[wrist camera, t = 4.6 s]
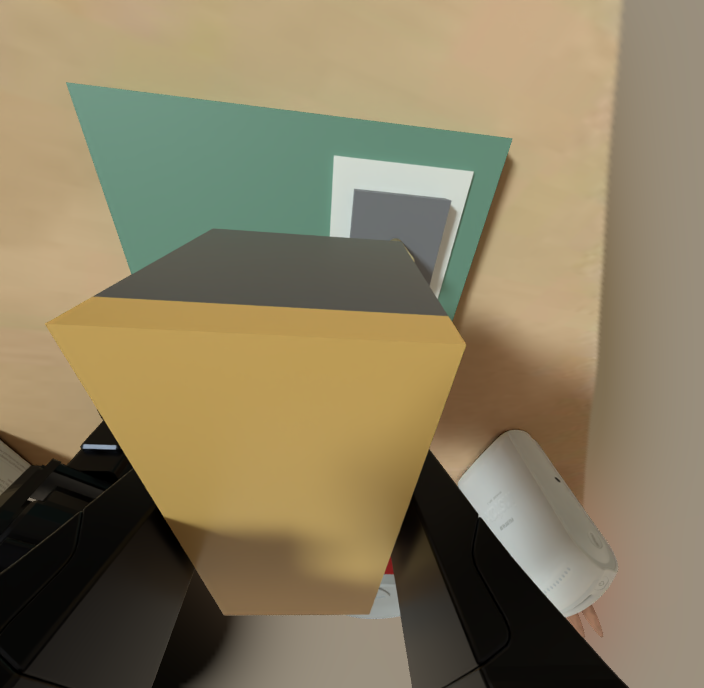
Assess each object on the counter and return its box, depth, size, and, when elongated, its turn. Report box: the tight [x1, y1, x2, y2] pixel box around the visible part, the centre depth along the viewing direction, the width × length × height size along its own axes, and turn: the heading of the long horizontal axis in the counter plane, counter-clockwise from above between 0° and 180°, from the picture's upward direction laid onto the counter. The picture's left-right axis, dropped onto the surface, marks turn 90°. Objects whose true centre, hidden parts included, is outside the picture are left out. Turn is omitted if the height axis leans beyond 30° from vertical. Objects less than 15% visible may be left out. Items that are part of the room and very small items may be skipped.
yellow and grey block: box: [45, 228, 466, 615], centre depth 7 cm, size 9×4×4 cm, turn 176°
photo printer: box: [458, 430, 618, 617], centre depth 25 cm, size 10×4×12 cm, turn 161°
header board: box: [66, 82, 512, 321], centre depth 16 cm, size 16×20×6 cm
